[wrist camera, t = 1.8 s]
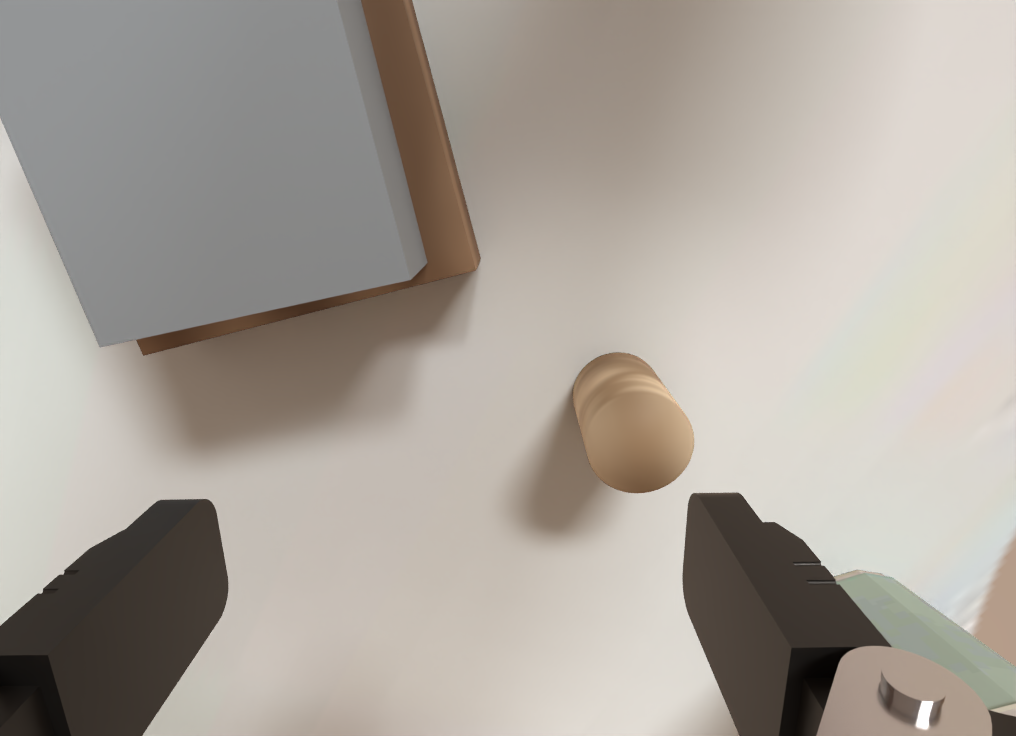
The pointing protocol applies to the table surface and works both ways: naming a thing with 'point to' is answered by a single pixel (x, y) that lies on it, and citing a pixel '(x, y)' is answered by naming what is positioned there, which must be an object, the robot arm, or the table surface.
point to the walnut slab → (423, 166)
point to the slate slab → (206, 155)
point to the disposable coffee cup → (932, 637)
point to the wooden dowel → (631, 424)
